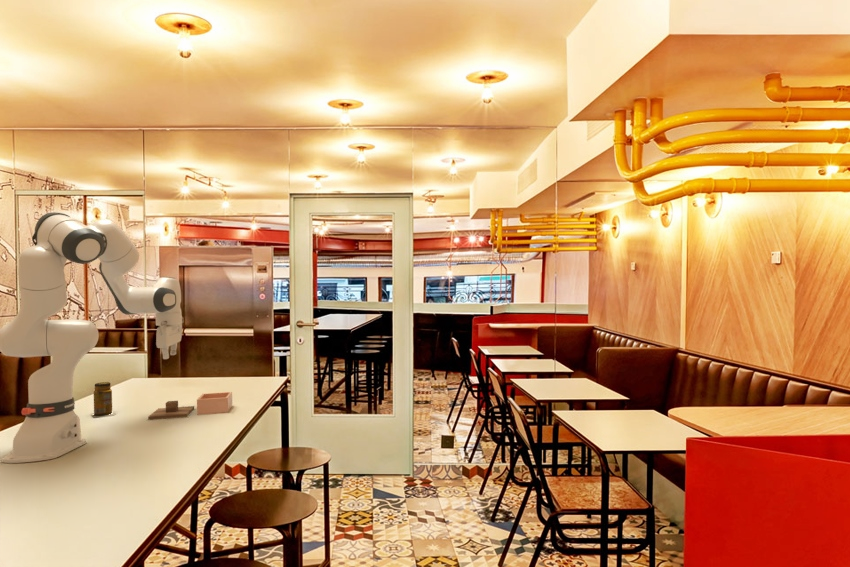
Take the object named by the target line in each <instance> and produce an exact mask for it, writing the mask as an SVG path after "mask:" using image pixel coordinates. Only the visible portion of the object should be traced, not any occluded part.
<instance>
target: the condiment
mask: <svg viewBox="0 0 850 567" xmlns="http://www.w3.org/2000/svg"><path fill="white" fill-rule="evenodd" d="M111 387H112V386H111V382H110V381H103V382H97V383H95V384H94V391H93V413H92V412H91V413H90V415H91V416H92V414H94V415H93V416H92V417H93V418H104V417H108V416H116V412H114V413H113V414H111V413H112V411H113V391H112V389H111ZM109 414H110V415H109Z"/></svg>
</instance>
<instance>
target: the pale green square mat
mask: <svg viewBox="0 0 850 567" xmlns="http://www.w3.org/2000/svg"><path fill="white" fill-rule="evenodd" d="M195 410H196V408H194V410H193V411H192V412H191V413H190V414H189V415H188V416H187V417H184V418H183V419H187V418H189V417H190V416H191V415H192V414H193V412H195ZM172 419H173V420H175V419H177V418H170V419H169V420H172ZM161 420H163V419H156V420H155V421H161ZM146 421H148V422H149V420H148V419H146Z"/></svg>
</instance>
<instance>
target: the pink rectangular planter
mask: <svg viewBox="0 0 850 567" xmlns="http://www.w3.org/2000/svg"><path fill="white" fill-rule="evenodd" d="M232 407H233V392H232V391H230V392H229V391H226V392H212V393H211V392H210V393H202V394H201V395H199V397H198V398H197V399H196V415H197V416H199V415H212V414H215V415H216V414H226V413H227V414H228V413H229V412H230V411H231V409H232Z"/></svg>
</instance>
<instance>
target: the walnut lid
mask: <svg viewBox="0 0 850 567" xmlns="http://www.w3.org/2000/svg"><path fill="white" fill-rule="evenodd" d="M194 409H195V405H191V406H179V400H168V401H166V402H165V407H164V408H163V407H161V408H157V409H156V410H155V411H154V412H152V413H151V414H150V415H148V416H147V420H148V421H157V420H156V419H162V420H171V419H170V418H176V419H185V418H184V417H187V416H188V415H189V414H190V413H191V412H192V411H193V410H194Z"/></svg>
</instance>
